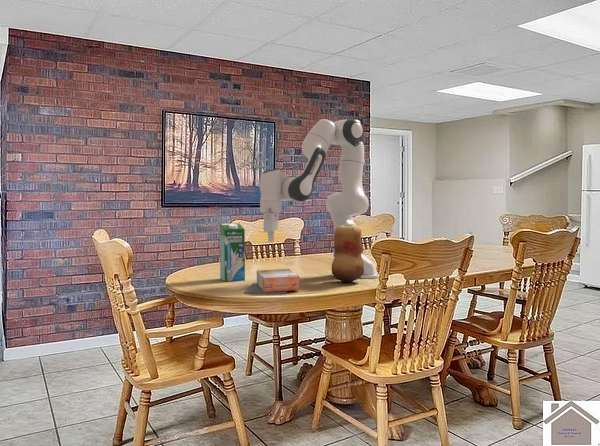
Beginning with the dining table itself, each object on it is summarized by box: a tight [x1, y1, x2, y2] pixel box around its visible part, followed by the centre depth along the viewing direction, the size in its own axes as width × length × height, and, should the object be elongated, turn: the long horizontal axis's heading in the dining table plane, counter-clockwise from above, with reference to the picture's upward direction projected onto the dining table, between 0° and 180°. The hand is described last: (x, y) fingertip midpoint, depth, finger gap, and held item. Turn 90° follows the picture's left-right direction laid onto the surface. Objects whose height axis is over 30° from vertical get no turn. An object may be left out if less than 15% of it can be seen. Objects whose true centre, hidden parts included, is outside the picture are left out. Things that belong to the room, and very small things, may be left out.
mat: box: [243, 282, 288, 295], centre depth 198 cm, size 16×21×1 cm
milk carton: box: [219, 222, 246, 282], centre depth 220 cm, size 9×9×25 cm
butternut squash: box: [331, 223, 364, 283], centre depth 212 cm, size 14×13×25 cm
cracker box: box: [256, 268, 301, 292], centre depth 199 cm, size 14×6×21 cm
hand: (271, 241), depth 206 cm, fingers closed
